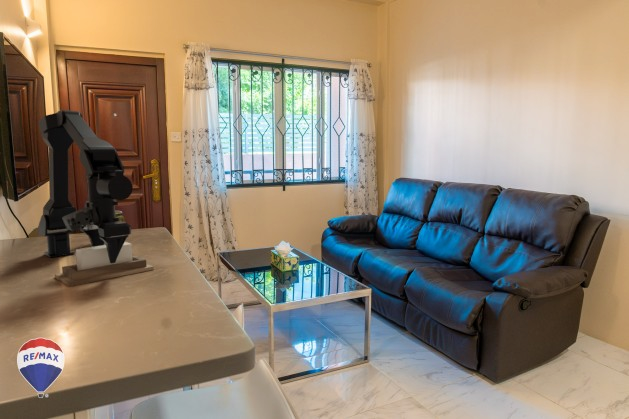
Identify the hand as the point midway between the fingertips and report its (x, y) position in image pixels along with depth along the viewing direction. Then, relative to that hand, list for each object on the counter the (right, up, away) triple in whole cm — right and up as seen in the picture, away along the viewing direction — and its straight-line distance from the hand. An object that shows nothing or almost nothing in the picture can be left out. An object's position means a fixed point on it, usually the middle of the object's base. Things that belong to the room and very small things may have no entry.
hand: (105, 259), depth 109 cm
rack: (0, -3, 0) cm, 4 cm away
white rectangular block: (0, -3, 0) cm, 3 cm away
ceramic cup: (-15, +1, +36) cm, 39 cm away
